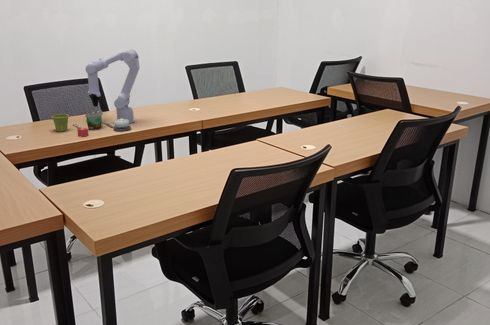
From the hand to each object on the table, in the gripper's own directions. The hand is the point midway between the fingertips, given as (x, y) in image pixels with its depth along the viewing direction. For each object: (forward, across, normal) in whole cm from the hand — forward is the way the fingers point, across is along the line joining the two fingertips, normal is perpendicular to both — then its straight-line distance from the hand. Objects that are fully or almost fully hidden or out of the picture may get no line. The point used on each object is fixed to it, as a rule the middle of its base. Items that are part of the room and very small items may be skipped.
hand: (95, 106), depth 301 cm
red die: (+9, +26, -18) cm, 33 cm away
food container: (+10, +16, -6) cm, 19 cm away
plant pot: (+10, +8, -24) cm, 27 cm away
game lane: (+9, +10, -6) cm, 15 cm away
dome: (+7, +26, +5) cm, 27 cm away
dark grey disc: (+9, +26, +5) cm, 28 cm away
